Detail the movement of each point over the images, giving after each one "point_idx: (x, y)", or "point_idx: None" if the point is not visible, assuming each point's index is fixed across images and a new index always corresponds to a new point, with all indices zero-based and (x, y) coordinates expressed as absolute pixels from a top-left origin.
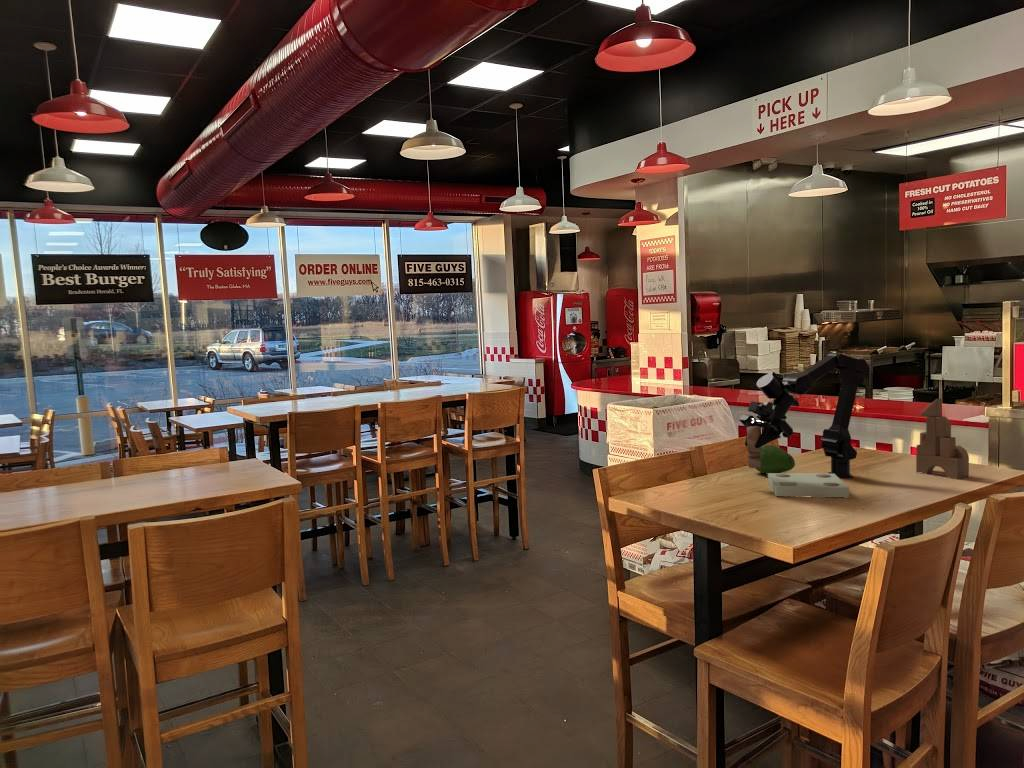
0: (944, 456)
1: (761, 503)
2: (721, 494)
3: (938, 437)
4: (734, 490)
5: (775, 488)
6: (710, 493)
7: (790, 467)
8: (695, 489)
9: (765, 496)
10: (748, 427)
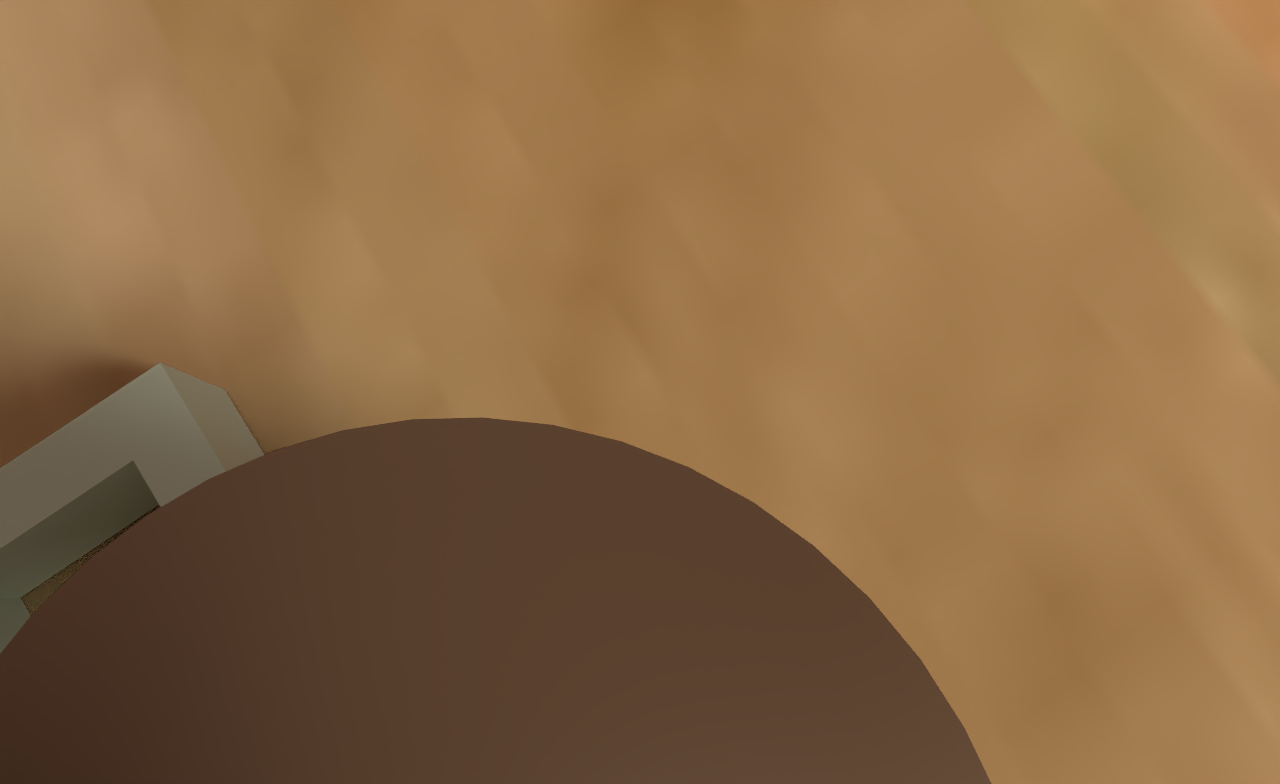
0: None
1: (233, 31)
2: (800, 115)
3: None
4: (798, 390)
5: (204, 413)
6: (931, 80)
7: None
8: (1210, 142)
9: (338, 338)
10: (768, 657)
